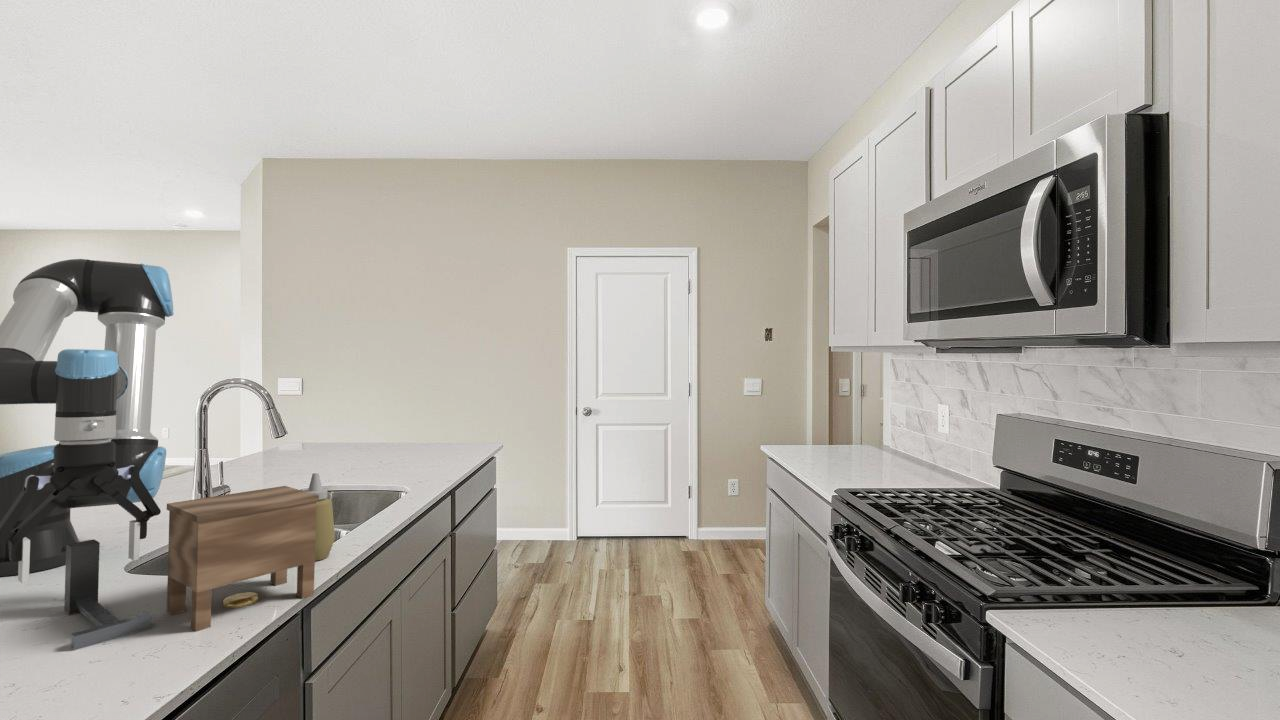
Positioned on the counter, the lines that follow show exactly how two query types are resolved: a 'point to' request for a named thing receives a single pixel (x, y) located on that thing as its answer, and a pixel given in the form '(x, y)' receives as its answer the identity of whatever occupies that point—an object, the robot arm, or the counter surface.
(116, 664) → the counter surface
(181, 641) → the counter surface
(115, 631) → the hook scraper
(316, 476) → the squeeze bottle
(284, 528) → the walnut cabinet
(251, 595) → the brass token
